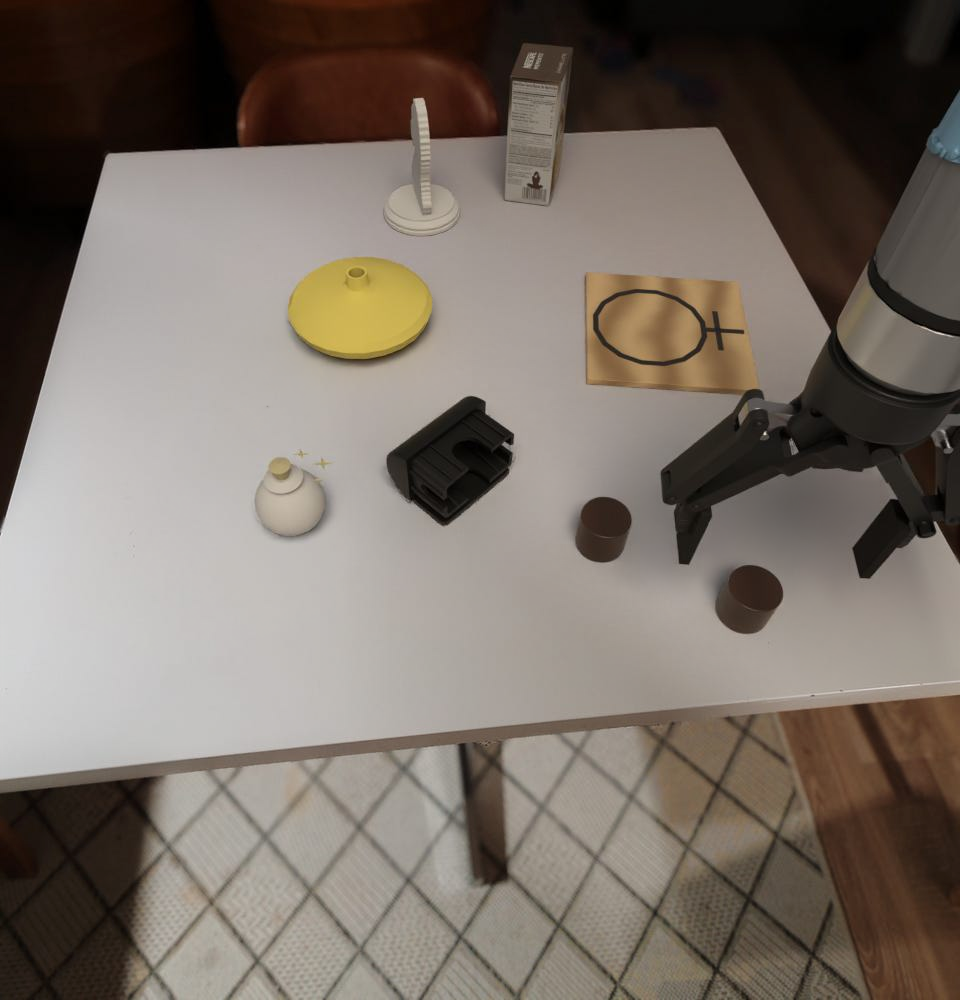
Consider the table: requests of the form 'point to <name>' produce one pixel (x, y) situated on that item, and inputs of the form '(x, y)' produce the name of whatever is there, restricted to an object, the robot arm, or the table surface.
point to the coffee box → (536, 122)
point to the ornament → (290, 498)
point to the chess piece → (421, 189)
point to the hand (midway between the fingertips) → (771, 556)
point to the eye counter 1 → (603, 529)
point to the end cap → (452, 460)
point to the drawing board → (667, 334)
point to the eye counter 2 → (749, 599)
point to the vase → (360, 307)
